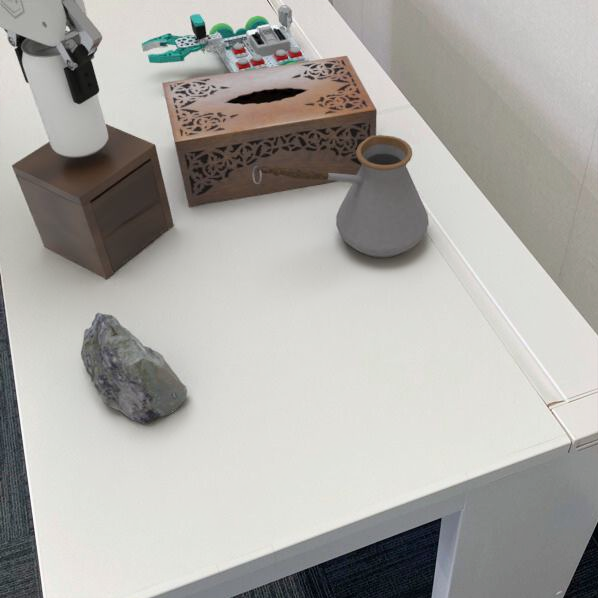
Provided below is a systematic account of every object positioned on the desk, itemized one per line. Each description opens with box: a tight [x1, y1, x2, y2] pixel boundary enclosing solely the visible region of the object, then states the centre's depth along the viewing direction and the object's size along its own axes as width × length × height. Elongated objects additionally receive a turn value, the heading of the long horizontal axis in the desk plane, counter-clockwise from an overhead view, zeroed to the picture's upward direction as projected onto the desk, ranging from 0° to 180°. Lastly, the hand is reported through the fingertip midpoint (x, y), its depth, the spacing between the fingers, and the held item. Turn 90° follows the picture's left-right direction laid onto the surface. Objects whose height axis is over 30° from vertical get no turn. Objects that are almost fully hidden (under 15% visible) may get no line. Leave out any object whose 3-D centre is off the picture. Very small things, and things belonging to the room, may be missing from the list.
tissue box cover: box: [162, 55, 377, 208], centre depth 105 cm, size 26×14×10 cm, turn 105°
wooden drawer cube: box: [11, 123, 175, 280], centre depth 94 cm, size 11×12×12 cm
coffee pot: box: [252, 134, 430, 258], centre depth 91 cm, size 21×12×15 cm, turn 113°
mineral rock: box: [80, 312, 188, 425], centre depth 79 cm, size 13×11×10 cm
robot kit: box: [141, 4, 310, 73], centre depth 121 cm, size 19×25×9 cm
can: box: [21, 30, 108, 158], centre depth 83 cm, size 6×6×12 cm
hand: (62, 86), depth 83 cm, fingers closed on can, 6 cm apart
